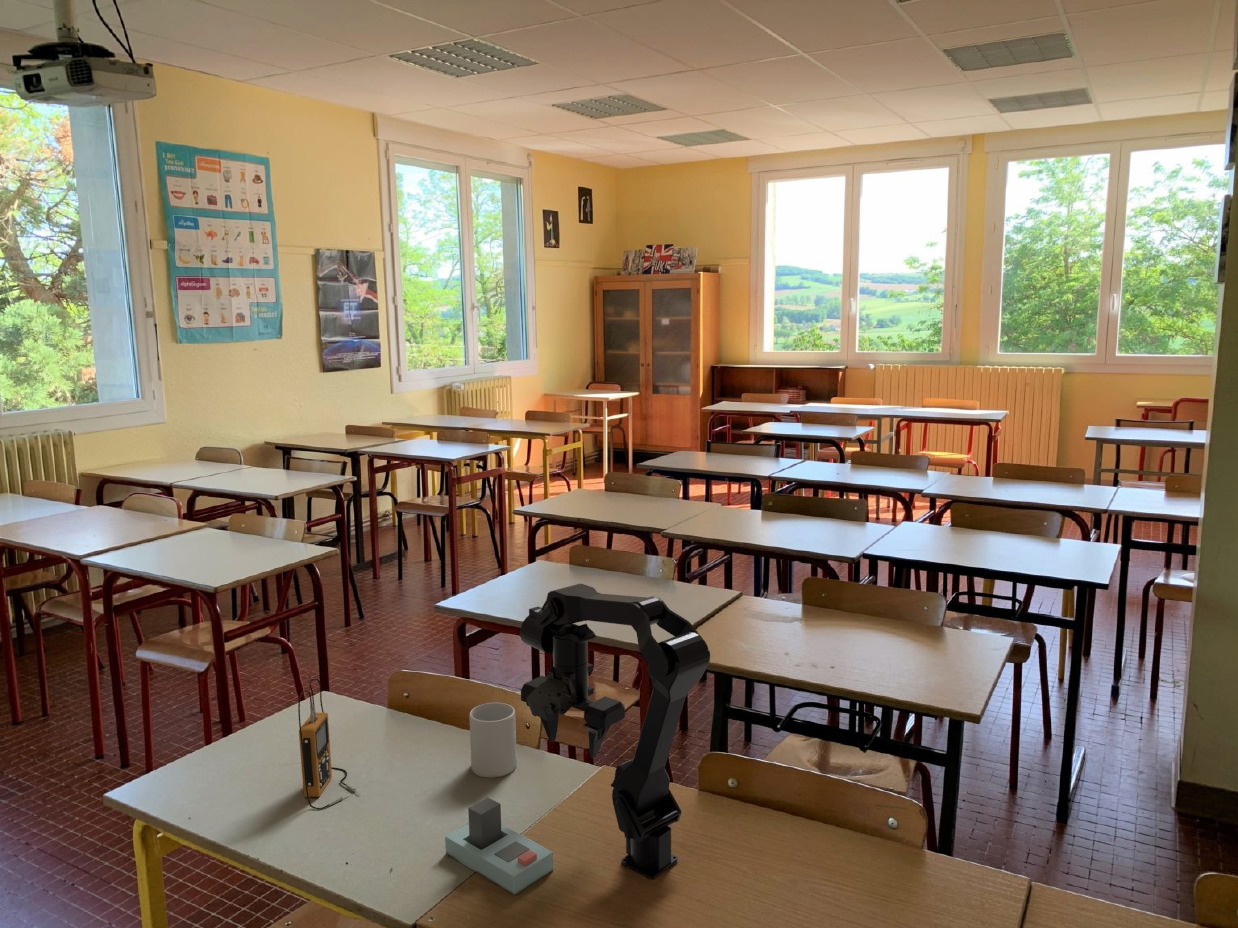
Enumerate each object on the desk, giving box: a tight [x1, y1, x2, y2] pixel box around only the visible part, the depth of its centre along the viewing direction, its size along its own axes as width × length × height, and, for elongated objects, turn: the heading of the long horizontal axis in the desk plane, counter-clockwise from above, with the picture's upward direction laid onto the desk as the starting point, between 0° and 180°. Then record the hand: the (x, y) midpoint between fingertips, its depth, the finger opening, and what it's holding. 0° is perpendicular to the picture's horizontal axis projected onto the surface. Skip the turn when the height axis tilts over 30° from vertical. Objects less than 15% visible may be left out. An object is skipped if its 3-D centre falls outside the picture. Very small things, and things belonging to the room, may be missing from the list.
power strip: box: [444, 823, 554, 896], centre depth 141 cm, size 16×8×4 cm, turn 49°
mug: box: [469, 702, 518, 779], centre depth 172 cm, size 12×8×11 cm
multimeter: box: [297, 678, 362, 810], centre depth 162 cm, size 15×10×20 cm
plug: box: [467, 797, 502, 850], centre depth 143 cm, size 4×3×8 cm
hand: (572, 748), depth 152 cm, fingers open, 9 cm apart
